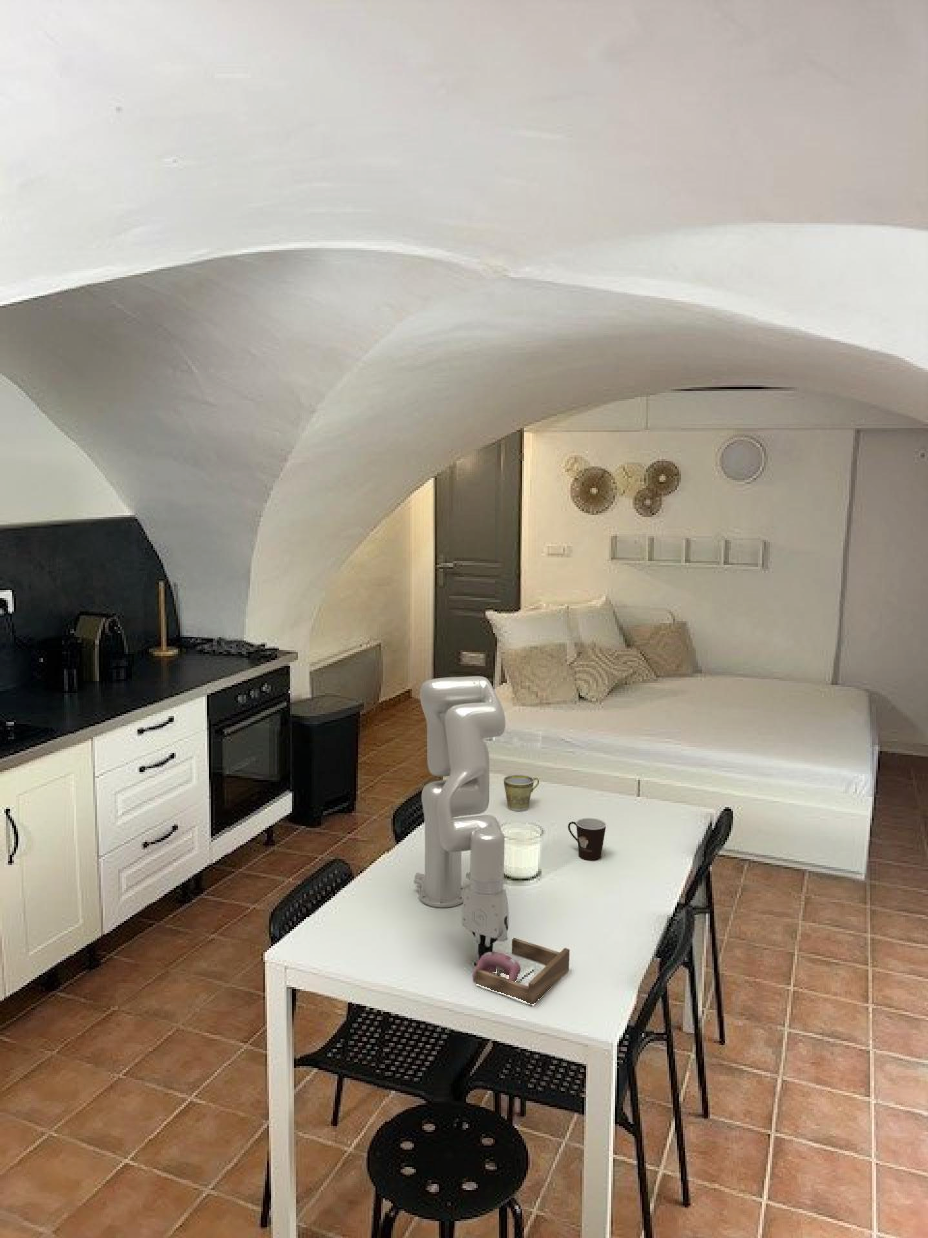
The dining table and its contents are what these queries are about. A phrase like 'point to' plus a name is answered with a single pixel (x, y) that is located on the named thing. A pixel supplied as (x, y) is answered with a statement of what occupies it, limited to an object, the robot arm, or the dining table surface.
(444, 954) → the dining table surface
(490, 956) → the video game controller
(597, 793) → the dining table surface
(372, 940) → the dining table surface
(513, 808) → the ceramic cup
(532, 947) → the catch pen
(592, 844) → the coffee mug
